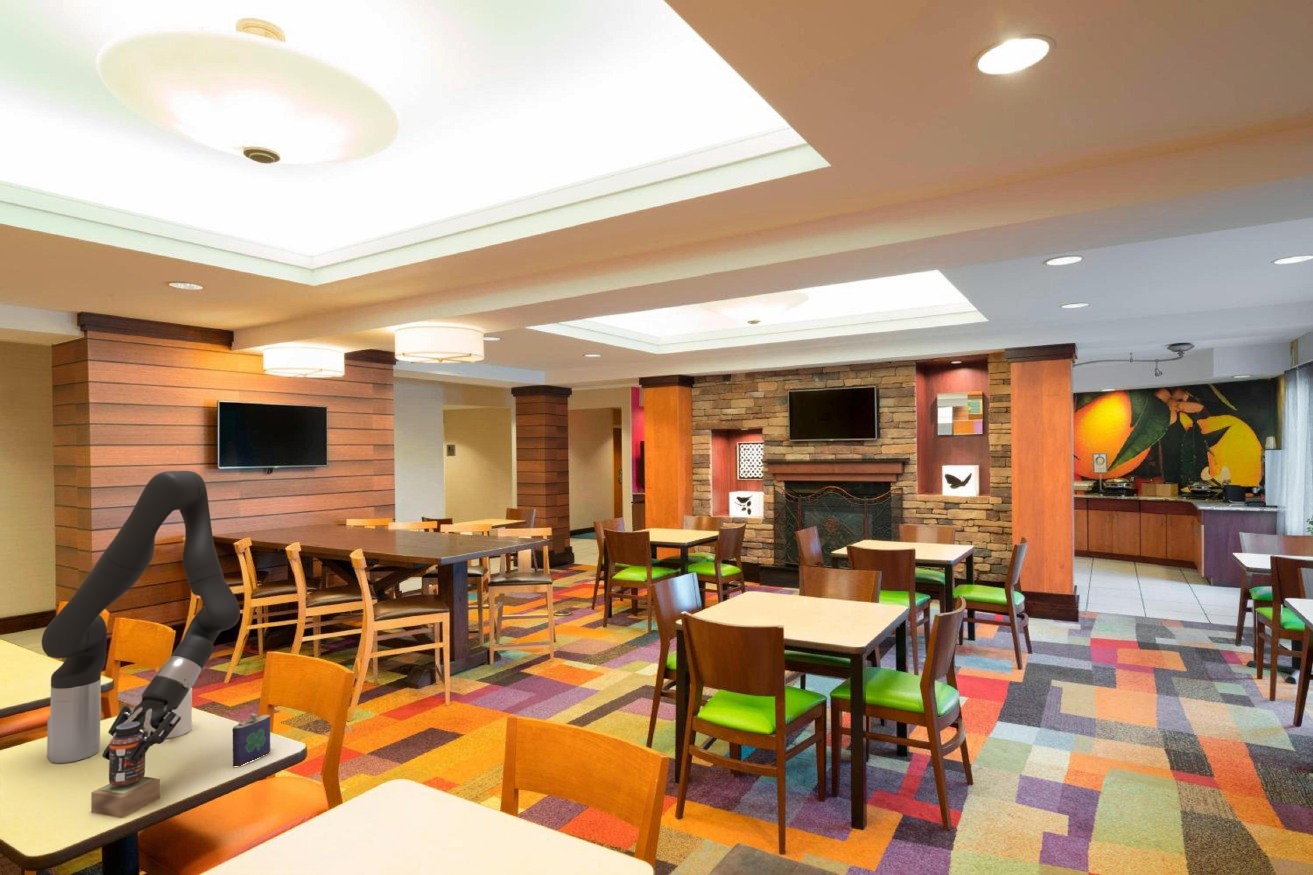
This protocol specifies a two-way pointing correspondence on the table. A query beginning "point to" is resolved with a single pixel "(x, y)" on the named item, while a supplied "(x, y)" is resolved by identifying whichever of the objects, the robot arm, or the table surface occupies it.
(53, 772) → the table surface
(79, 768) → the table surface
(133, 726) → the supplement bottle
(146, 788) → the block
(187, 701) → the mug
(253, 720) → the flask
